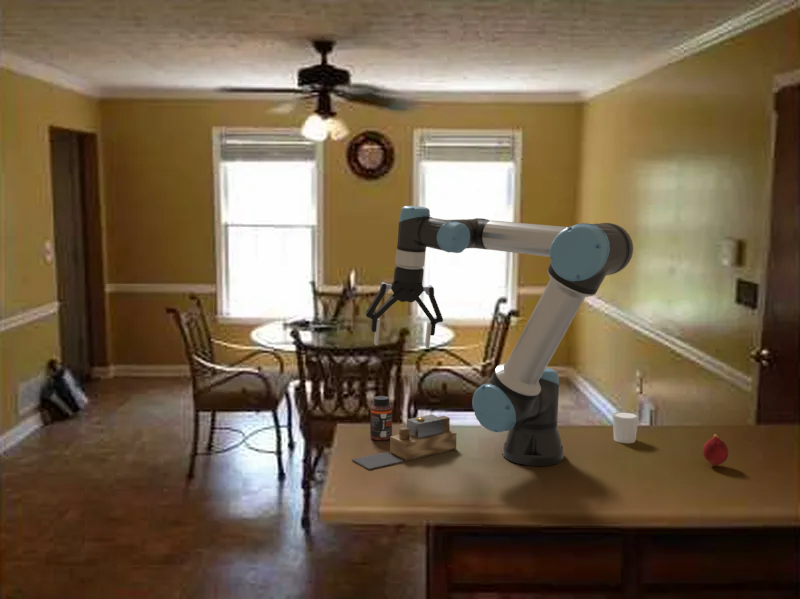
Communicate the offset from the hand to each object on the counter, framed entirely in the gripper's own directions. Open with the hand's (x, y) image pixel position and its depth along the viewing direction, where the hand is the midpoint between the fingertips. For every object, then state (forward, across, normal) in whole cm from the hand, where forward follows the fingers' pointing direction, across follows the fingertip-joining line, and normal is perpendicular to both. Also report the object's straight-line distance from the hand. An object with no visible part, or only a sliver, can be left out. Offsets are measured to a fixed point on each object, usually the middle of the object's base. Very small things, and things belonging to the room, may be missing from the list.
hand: (401, 345), depth 204 cm
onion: (+18, -76, +29) cm, 83 cm away
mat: (+26, +6, +17) cm, 31 cm away
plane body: (+25, -7, +11) cm, 28 cm away
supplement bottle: (+27, +3, -2) cm, 27 cm away
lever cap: (+20, -7, +10) cm, 24 cm away
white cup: (+21, -62, +7) cm, 66 cm away
